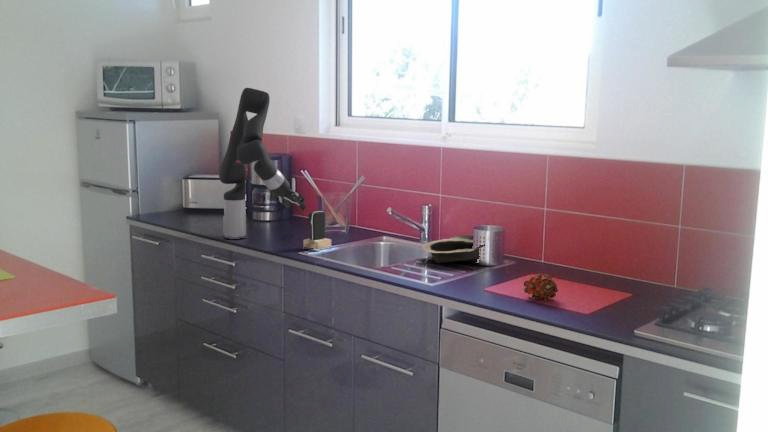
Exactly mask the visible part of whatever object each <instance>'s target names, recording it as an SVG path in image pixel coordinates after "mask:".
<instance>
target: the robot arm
mask: <svg viewBox="0 0 768 432" xmlns="http://www.w3.org/2000/svg"><path fill="white" fill-rule="evenodd" d="M238 102H239V104H238V107H237V112H236V116H235V121H234V124H233V127H232V130H231V133H230V136H229V141H228V145H227V148H226V152H225V154H224V157H223V160H222V162H221V164H220V166H219V170H218V171H219V172H218V177H219V178H218V179H219V181H220V182H221V183H222V184H225V185H233V184H234V187H233V188H232V189H230V190H228V191H227V190H226V191H225V192H224V193H223V213H224V215H223V216H222V229H223V230H222V232H223V234H224V235H225V236H232V237H239V236H245V235H246V236H247V213H246V194H247V187H246V186H247V168H246V165H250V164H253V163H254V162H255V164H254V165H253V171H254V172H255V173H256V175H257V176H258V177H259V179H260V180H262V181H261V182H262V183H263V185H264V186H265V187H266V188H267V189H268V190H269V194H270V195H271V196H272V198H273V199H274V200H275V202H279V203H281V204H282V206H284V207H285V208H286V209H289V208H290V207H291V203H292V204H296V205H297V206H298V208H299V209H300V210H301V211H302V212H305V210H306V209H307V205H306V203H305V201H306V199H305V197H304V196H303V195H302V194H301V193H300V192H299V190H294V191H293V190H292V189H291V188H290V186H291V185H290V182H289V181H288V180H287V178H286V177H285V176H284V174H283V173H282V172H281V171H280V170H279V169H278V168H277V167H276V165H275V164H274V163H273V162H272V160H271V158H270V156H269V154H268V151H267V148H266V145H265V143H264V142H263V136H264V134H263V133H264V128H265V122H266V119H267V115H268V111H269V107H270V95H269V93H268V92H266V91H264V90H260V89H256V88H252V87H245V88H243V90H242V92H241V95H240V98H239V101H238ZM247 113H252V114H256V115H254V116H253V117H250V119H249V118H248V115H247ZM238 161H239V162H238Z"/></svg>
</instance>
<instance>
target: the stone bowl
mask: <svg viewBox="0 0 768 432" xmlns="http://www.w3.org/2000/svg"><path fill="white" fill-rule="evenodd" d="M473 236H474V235H468V234H467V235H465V234H462V235H460V234H459V235H455V236H453V237H450V238H443V239H437V240H432V241H430V242H426V243H423V245H422V247H421V248H422V250H423V251H424V252H428V253H430V254H431V257H432V258H433V260H434V262H435V263H437V264H440V263H454V262H462V261H463V262H466V263H470V264H472V265H477V264H476V262H477V259H479V257H480V256H479V248H480V249H481V248H484V247H486V246H485V244H484V245H480V246H479V247H477V248H474V249H472V246H473ZM483 246H484V247H483Z"/></svg>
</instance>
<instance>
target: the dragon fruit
mask: <svg viewBox="0 0 768 432" xmlns="http://www.w3.org/2000/svg"><path fill="white" fill-rule="evenodd" d="M557 285H558V284H557V283H556V281H555V280H554V279H553V278H552V277H551V276H550V275H548V274H545V273H544V274H543V273H537V274H536V276H533V277H530V278H529V279H527V280H525V281H524V282H523V286H524V287H523V292H524V293H525V294H526V293H527V295H531V297H532V299H533V300H535V301H536V300H538V299H539V300H540V301H545V302H546V301H548V300H549V299H554V298H556V296H557V292H559V289H558V286H557Z"/></svg>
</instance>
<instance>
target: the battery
mask: <svg viewBox="0 0 768 432" xmlns="http://www.w3.org/2000/svg"><path fill="white" fill-rule="evenodd" d="M307 218H308V219H307V220H308V222H307V223H308V225H309V226H310V236H309V239H311V240H318V239H323V238H326V213H325V211H323V210H314V211H310V212H309V213H308V217H307Z"/></svg>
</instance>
